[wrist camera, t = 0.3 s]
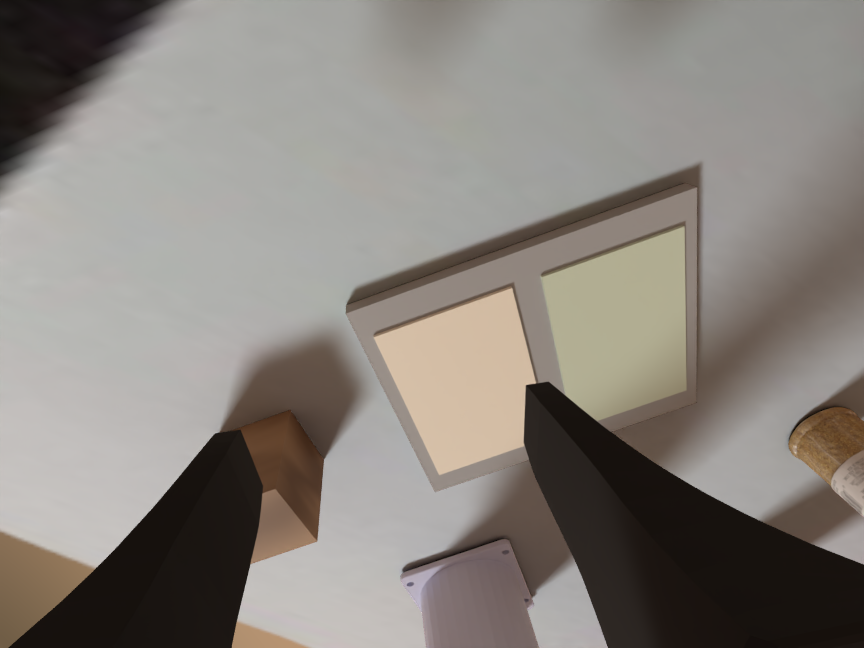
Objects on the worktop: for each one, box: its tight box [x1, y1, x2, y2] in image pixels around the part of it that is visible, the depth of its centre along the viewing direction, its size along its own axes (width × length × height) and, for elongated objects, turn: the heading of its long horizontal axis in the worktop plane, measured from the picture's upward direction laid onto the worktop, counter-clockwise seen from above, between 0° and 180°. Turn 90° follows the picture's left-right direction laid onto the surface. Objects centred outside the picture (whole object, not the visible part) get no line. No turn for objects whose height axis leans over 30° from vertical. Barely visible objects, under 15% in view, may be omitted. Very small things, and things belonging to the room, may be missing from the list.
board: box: [346, 183, 697, 492], centre depth 23 cm, size 13×16×1 cm
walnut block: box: [232, 410, 324, 564], centre depth 22 cm, size 4×4×5 cm
